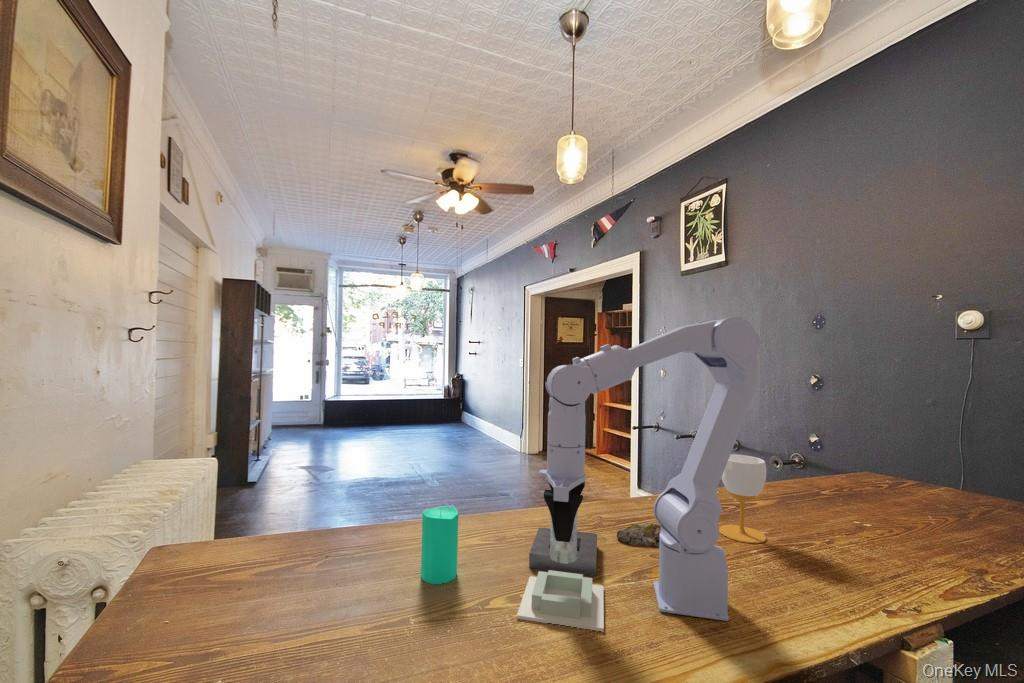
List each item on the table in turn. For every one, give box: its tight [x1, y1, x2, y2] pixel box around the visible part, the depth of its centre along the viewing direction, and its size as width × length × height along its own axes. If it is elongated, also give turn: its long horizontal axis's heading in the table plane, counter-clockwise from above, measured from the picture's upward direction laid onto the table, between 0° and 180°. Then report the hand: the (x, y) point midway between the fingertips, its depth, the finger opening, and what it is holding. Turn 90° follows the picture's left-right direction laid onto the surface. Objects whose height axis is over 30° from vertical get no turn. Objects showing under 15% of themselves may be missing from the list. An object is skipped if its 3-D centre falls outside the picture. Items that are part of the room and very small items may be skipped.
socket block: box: [528, 527, 598, 577], centre depth 80 cm, size 12×12×2 cm
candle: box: [420, 505, 459, 585], centre depth 72 cm, size 6×6×12 cm
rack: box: [516, 570, 605, 633], centre depth 65 cm, size 12×11×2 cm
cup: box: [719, 453, 768, 544], centre depth 92 cm, size 9×9×16 cm
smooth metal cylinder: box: [550, 509, 579, 564], centre depth 65 cm, size 4×4×8 cm
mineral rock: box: [616, 522, 661, 548], centre depth 88 cm, size 11×4×8 cm
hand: (564, 534), depth 65 cm, fingers closed on smooth metal cylinder, 4 cm apart
